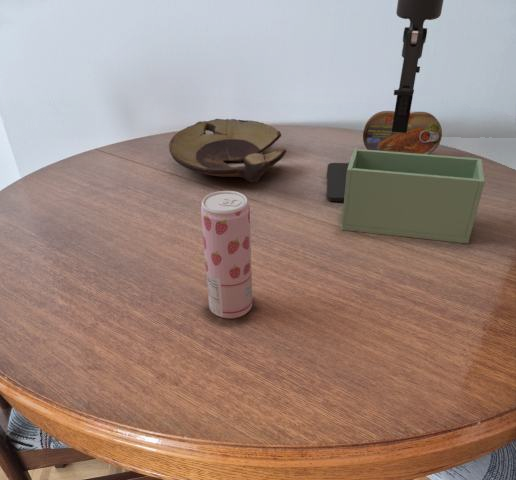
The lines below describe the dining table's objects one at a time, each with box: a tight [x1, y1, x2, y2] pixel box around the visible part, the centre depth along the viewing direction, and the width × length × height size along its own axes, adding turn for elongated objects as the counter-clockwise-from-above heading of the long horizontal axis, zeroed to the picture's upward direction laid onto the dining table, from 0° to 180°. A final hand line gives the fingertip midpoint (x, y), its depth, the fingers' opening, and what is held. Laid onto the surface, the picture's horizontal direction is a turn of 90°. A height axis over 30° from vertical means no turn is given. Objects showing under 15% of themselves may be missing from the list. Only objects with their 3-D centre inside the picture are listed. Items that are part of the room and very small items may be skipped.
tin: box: [362, 110, 443, 155], centre depth 107 cm, size 15×3×8 cm, turn 80°
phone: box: [326, 162, 349, 203], centre depth 99 cm, size 7×1×15 cm
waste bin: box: [341, 148, 486, 245], centre depth 85 cm, size 19×8×10 cm, turn 76°
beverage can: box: [200, 190, 253, 319], centre depth 67 cm, size 6×6×15 cm
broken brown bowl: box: [168, 118, 287, 183], centre depth 102 cm, size 22×30×8 cm
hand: (401, 119), depth 105 cm, fingers open, 13 cm apart
